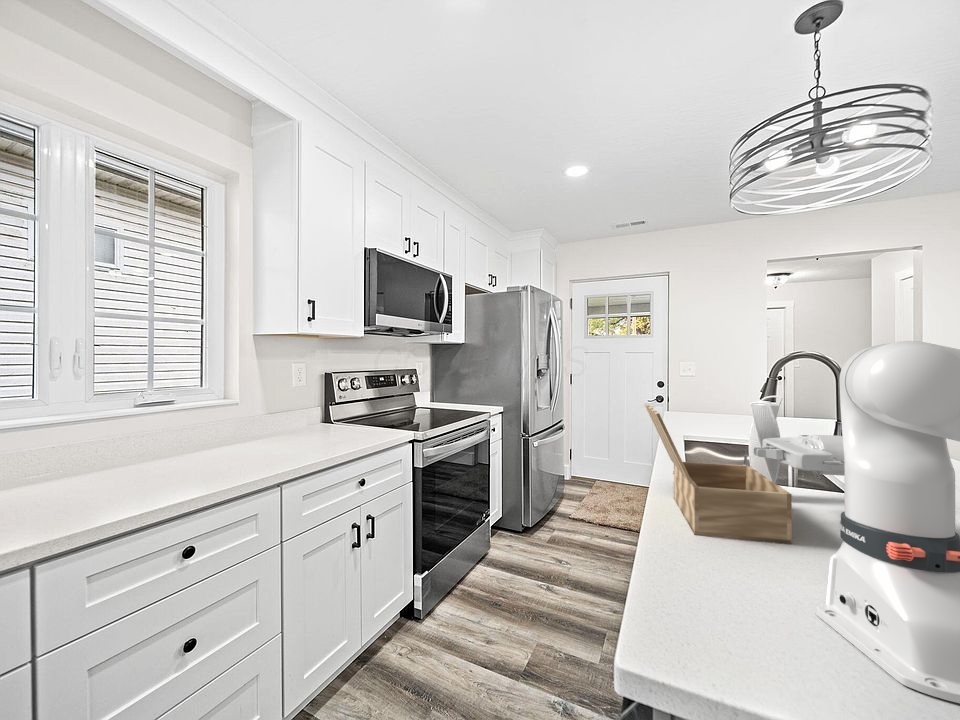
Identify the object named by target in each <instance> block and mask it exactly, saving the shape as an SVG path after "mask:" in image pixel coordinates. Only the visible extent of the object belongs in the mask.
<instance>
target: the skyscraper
mask: <svg viewBox="0 0 960 720" xmlns="http://www.w3.org/2000/svg"><path fill="white" fill-rule="evenodd" d="M770 398H771V399H772V398H778V399H779V401H778V404H772V403H771V402H772V401H770V400H769V401H768V400H767V399H770ZM760 399H761V400H759V401H753V402H750V403H749V406H750V411H751V414H752V415H751V416H752V421H751V425H750V429H749V435H748V455H747V449H746V448H745V449H744V455H743V457H744V458H743V464H742V465H747V466H750V467H751V468H753V469H754V470H756V471H757V472H759V473H760V474H762V475H763V476H765V477H766V478H768V479H769V480H771V481H772V482H774V483H775V484H777V479H778V475H779V471H780V467H781V461H779V460H777V459H772V458H767V457H758V456H757V455H755V454H753V448H754V447H763V446H762V444H763V439H766V438H781V433H780V428H779V425H778V421H777V419H778V413H779V410H780V405H781V404H782V401H783V399H784V398H783V397H782V396H781V395H769V396H764V397H763V398H760ZM766 400H767V401H766ZM748 459H749V460H748ZM748 461H749V464H748Z"/></svg>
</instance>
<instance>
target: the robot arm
mask: <svg viewBox="0 0 960 720" xmlns="http://www.w3.org/2000/svg"><path fill="white" fill-rule="evenodd" d="M838 380H839V403H840V418H841V419H840V420H841V433H842V435H835V434H834V435H832V434H830V435H829V434H828V435H827V434H826V435H825V434H824V435H823V434H813V435H807V434H806V435H805V434H799V435H798V437H794V436H793V437H792V436H791V437H788V436H787V437H786V436H785V437H780V438H766V439H763V444H762V446H763V447H754V448H753V454H755V455H757V456H758V457H767V458H772V459H777V460H779V461H780V463H781V462H782V463H784V464H785V465H787V466H790V467H791V468H794V469H795V470H800V471H810V472H811V471H812V472H813V473H814V474H815V475H825V476H844V511H843V512H841V514H840V520H839V529H840V530H839V531H840V534H839V535H840V539H841V541H842V543H841V545H840V547H839V548H838V550H836V552H835V553H834V554H833V555H831V556H830V558H829V559H830V560H829V564H828V565H829V566H828V577H827V585H826V587H827V589H826V597H825V599H826V600H825V602H823V603H819V604H817V605H816V607H815V614H816V616H818V617H819V618H820V619H821V620H822V621H823V622H824V623H826V624H827V625H828V626H830V627H831V628H832V629H833V630H835V631H836V632H837V633H838V634H839V635H841V636H842V637H843V638H844V639H846V640H847V641H848V642H849V643H851V644H852V645H853V646H854V647H855V648H856V649H858V650H859V651H860V652H861V653H863V655H864V656H866V657H868V658H869V659H870V660H871V661H873V662H874V663H875V664H876V665H877V666H879V667H880V668H881V669H882V670H884V671H885V672H887V673H888V674H889V675H890V676H891V677H892V678H894V679H895V680H896V681H898V683H900V684H901V685H904V686H905V687H908V688H910V689H913V690H915V691H917V692H919V693H920V692H921V693H923V694H926V695H927V696H928V695H929V696H932V697H934V698H939V699H942V700H945V701H948V702H951V703H956V704H960V535H959V533H957V531H956V471H955V469H954V466H953V464H952V460H951V457H950V452H949V447H948V443H947V442H948V441H947V439H948V440H950V441H951V440H952V441H956V442H959V443H960V348H956V347H951V346H945V345H942V344H941V345H940V344H934V343H931V342H926V341H919V340H901V341H895V342H890V343H883V344H878V345H873V346H869V347H866V348H864V349H860V350H859V351H857V352H855V353H854V354H852V356H850V357H849V358H848V359H847V360H846V362H845V363H844V364H843V366H842V368H841V370H840V374H839V379H838Z"/></svg>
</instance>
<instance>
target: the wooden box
mask: <svg viewBox="0 0 960 720" xmlns="http://www.w3.org/2000/svg"><path fill="white" fill-rule="evenodd" d="M682 462H683V464H684V466H685V468H686V470H687V472H688V474H689V476H690V478H691V481H692V483H691V484H689V482H688V481H687V480H686V478H685V477H684V476H683V475H682V473H681V472H680V471H679V469H678V468H677V467H676V466H675V464H674V463H673V471H674V474H673V501H674V502H675V503H676V505H677V507H678V509H679V510H680V512H681V514H682V515H683V517H684V519H685V521H686V523H687V524H688V526H689V528H690V530H691V531H692V533H693V535H694V536H704V537H713V538H715V537H716V538H724V539H725V538H726V539H735V540H744V541H752V540H754V541H755V542H763V541H765V542H764V543H773V542H775V543H774V544H783V543H784V545H785V544H786V545H792V543H793V542H792V538H793V537H792V535H793V534H792V533H793V532H792V528H793V527H792V524H793V522H792V519H793V518H792V517H793V516H792V515H793V513H792V512H793V511H792V510H793V509H792V507H793V505H792V504H793V503H792V502H793V501H792V497H793V496H792V495H793V493H791V492H789V491H788V490H786V489H784V488H783V487H781V486H780V485H779V484H777V483H776V484H775V483H774V482H772V481H771V480H769V479H768V478H766V477H765V476H763V475H762V474H760V473H759V472H757V471H756V470H754V469H753V468H751V467H750V465H749V466H747V465H748V464H747V465H743V464H730V463H729V464H727V463H711V462H694V461H682Z"/></svg>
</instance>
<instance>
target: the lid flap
mask: <svg viewBox="0 0 960 720" xmlns="http://www.w3.org/2000/svg"><path fill="white" fill-rule="evenodd" d="M644 406H645V408H646V411H647V413H648V415H649V417H650V419H651V421H652V423H653V425H654V427H655V430H656V432H657V434H658V435H659V438H660V440H661V443H662V444H663V446H664V448H665V451H666V453H667V455H668V457H669V459H670V461H671V462H672V463H673V465H674V464H675V466H676V467H677V468H678V469H679V471H680V472H681V473H682V475H683V476H684V477H685V478H686V480H687V481H688V482H689V484H691V483H692V481H691V478H690V476H689V474H688V472H687V470H686V468H685V466H684V464H683V462H684V461H683V460H682V458H681V456H680V453H679V452H678V450H677V447H676V445H675V443H674V442H673V439H672V437H671V435H670V433H669V431H668V429H667V427H666V425H665V422H664V421H663V419H662V416H661V414H660V412H658V411H657V410H655V409H654V408H653V407H652V406H651V405H649V404H648V403H645V404H644Z"/></svg>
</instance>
